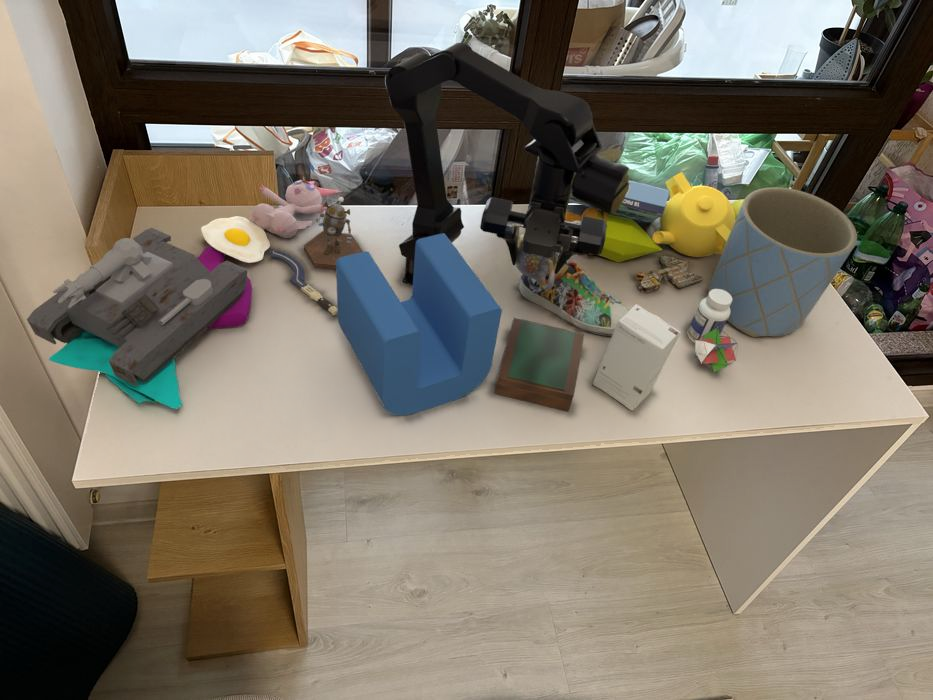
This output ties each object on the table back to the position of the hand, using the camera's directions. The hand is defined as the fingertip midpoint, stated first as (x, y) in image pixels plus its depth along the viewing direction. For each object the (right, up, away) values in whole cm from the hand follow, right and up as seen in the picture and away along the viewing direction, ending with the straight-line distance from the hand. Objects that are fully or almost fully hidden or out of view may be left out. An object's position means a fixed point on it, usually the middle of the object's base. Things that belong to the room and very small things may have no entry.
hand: (534, 268), depth 118 cm
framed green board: (+1, -17, +3) cm, 17 cm away
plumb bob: (+14, +6, +26) cm, 30 cm away
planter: (+43, -5, +20) cm, 47 cm away
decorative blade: (-38, 0, +13) cm, 40 cm away
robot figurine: (-36, +5, +18) cm, 40 cm away
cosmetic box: (+14, -20, +2) cm, 25 cm away
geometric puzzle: (+34, -11, +7) cm, 36 cm away
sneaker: (+8, -6, +14) cm, 17 cm away
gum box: (+19, +18, +36) cm, 45 cm away
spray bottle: (-54, -1, +9) cm, 54 cm away
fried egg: (-52, +7, +14) cm, 54 cm away
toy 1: (-61, -8, -2) cm, 62 cm away
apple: (+45, +10, +35) cm, 57 cm away
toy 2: (-48, +9, +15) cm, 51 cm away
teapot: (+33, +10, +30) cm, 46 cm away
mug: (0, -1, +1) cm, 2 cm away
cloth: (-62, -14, -7) cm, 64 cm away
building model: (+27, 0, +23) cm, 35 cm away
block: (-20, -16, +1) cm, 25 cm away
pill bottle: (+31, -11, +13) cm, 35 cm away
